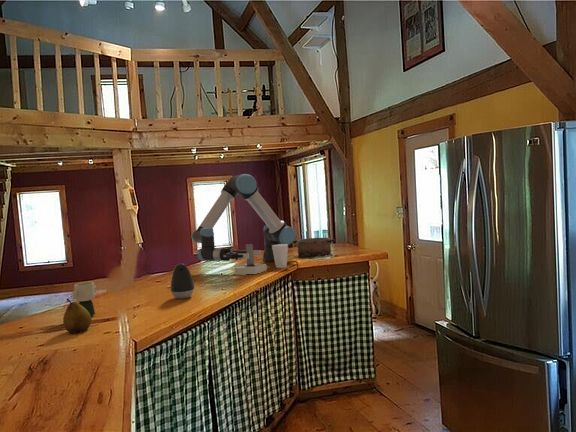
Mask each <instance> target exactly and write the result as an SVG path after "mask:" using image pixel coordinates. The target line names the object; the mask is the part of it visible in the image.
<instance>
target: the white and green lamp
mask: <svg viewBox="0 0 576 432" xmlns="http://www.w3.org/2000/svg"><path fill="white" fill-rule="evenodd" d="M73 289H74V290H73V291H72V292H71V295H72V300H75V302H78V303H79V304H80V305H82V306H83V307H84V308H85V309H86V310H87V311H88V312H89V313H90V315H91V317H92V316H94V315H95V314H96V312H95V311H96V310H95V307H94V302H93V300H94V299H95V298H96V297H95V296H96V294H97V286H96V285H95V284H94V282H93V281H91V282H89V281H86V282H85V281H84V282H79V283H75V284H74V286H73Z"/></svg>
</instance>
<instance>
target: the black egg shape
mask: <svg viewBox="0 0 576 432" xmlns="http://www.w3.org/2000/svg"><path fill="white" fill-rule="evenodd" d="M170 279H171V280H170V292H171V294H172V296H173V297H174V298H175V299H177V300H183V299H187V298H189V297H192V295H193V293H194V290H195V284H194V280H193V277H192V274H191V271H190V269H189V268H188V266H187V265H186V264H184V263H178V264H175V266H174V268H173V272H172V274H171V278H170Z"/></svg>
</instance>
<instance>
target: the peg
mask: <svg viewBox="0 0 576 432" xmlns="http://www.w3.org/2000/svg"><path fill="white" fill-rule="evenodd" d="M245 250H246V253H249V259H246V264H247V267H253V266H254V264H255V255H253V250H254V245H253V243H247V244H245Z"/></svg>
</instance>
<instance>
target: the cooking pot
mask: <svg viewBox="0 0 576 432" xmlns="http://www.w3.org/2000/svg"><path fill="white" fill-rule="evenodd" d="M334 242H336V239H331V238H330V237H309V238H300V239H296V240H295V239H294V241H293V242H292V243H293V244H296V245H297V255H298V257H299V256H300V258H317V257H316V256H321V257H326V256H325V255H327V256H330V255H332V249H331V248H332V247H331V243H334ZM329 254H330V255H329Z"/></svg>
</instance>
